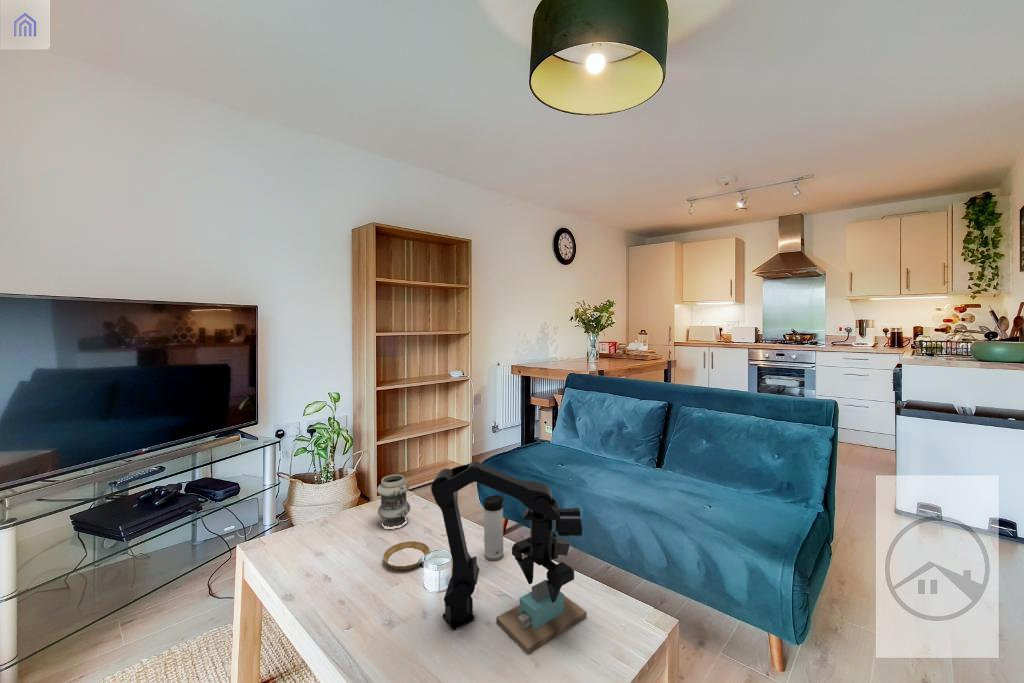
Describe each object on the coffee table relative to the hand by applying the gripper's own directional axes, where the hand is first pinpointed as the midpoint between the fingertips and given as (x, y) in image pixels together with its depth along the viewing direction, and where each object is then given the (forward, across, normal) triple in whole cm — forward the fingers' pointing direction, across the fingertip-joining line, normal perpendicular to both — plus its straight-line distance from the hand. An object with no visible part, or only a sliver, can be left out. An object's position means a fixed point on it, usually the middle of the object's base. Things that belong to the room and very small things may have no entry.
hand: (541, 592), depth 110 cm
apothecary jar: (+8, +74, +11) cm, 75 cm away
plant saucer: (+8, +48, +17) cm, 52 cm away
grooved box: (+6, 0, 0) cm, 6 cm away
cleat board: (+8, 0, 0) cm, 8 cm away
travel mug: (+8, +32, -7) cm, 34 cm away
